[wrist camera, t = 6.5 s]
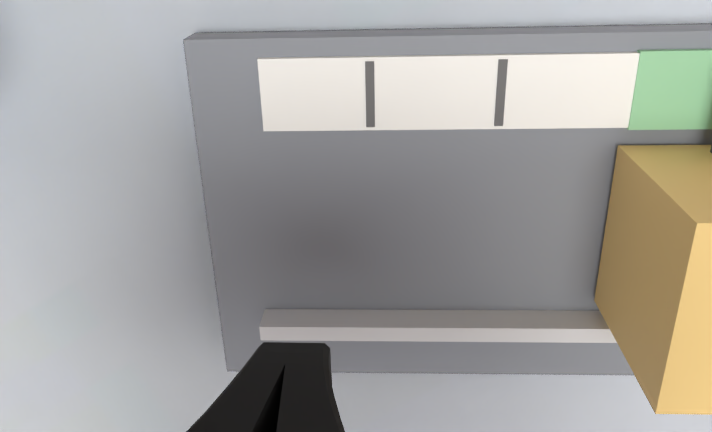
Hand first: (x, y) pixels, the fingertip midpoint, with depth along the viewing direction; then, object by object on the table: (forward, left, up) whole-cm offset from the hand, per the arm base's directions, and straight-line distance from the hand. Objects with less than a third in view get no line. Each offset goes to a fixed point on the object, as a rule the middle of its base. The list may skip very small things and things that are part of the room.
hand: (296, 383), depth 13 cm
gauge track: (0, -7, -8) cm, 11 cm away
